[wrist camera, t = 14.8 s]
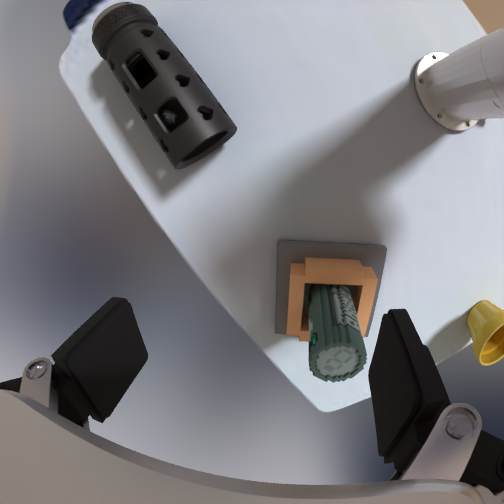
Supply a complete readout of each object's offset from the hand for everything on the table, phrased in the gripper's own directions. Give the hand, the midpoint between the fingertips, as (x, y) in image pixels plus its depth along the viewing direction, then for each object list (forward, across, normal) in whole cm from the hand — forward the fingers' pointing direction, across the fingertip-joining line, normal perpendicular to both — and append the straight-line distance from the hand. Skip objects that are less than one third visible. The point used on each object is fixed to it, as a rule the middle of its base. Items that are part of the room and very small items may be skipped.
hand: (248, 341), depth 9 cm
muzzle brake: (+31, +16, -19) cm, 40 cm away
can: (+29, -6, +15) cm, 33 cm away
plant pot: (+31, -38, +22) cm, 54 cm away
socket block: (+30, -6, +15) cm, 34 cm away
